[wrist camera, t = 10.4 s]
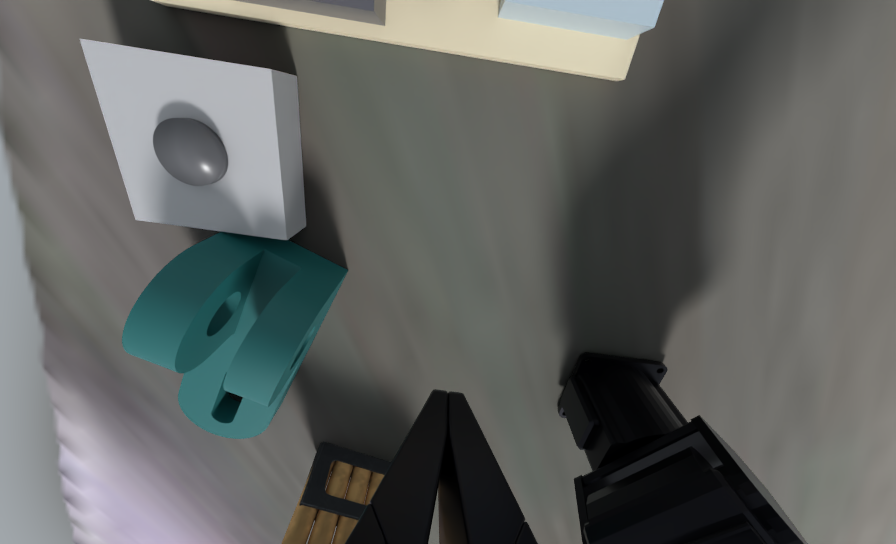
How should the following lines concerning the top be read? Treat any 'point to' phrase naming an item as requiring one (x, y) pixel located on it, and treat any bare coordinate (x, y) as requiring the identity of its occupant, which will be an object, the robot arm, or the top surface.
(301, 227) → the grey knob block
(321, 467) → the ammunition clip
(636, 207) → the top surface
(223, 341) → the bracket
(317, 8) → the frame
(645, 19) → the header 3pin
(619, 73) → the board
